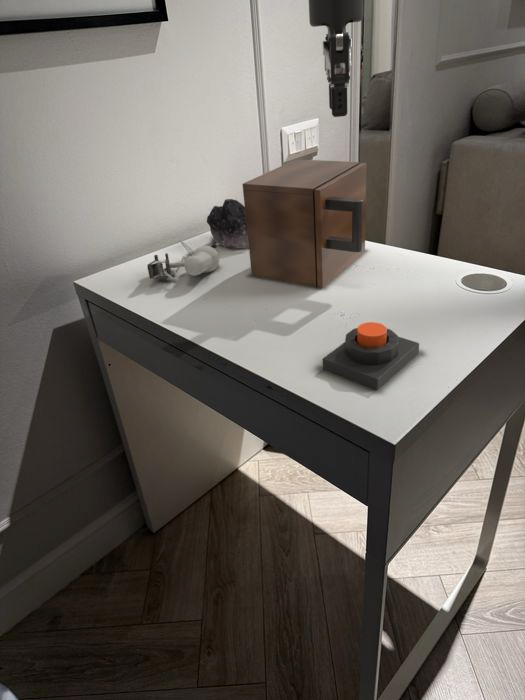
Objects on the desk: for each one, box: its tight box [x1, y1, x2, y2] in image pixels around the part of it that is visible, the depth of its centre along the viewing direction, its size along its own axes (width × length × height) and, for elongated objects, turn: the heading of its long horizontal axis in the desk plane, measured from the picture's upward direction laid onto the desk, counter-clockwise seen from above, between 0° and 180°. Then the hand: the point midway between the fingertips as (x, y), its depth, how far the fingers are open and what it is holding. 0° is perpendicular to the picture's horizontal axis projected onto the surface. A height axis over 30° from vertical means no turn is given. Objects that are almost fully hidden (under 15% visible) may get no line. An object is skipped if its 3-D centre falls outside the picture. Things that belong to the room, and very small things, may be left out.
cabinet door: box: [314, 162, 368, 289], centre depth 87 cm, size 7×18×17 cm, turn 148°
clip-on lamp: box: [146, 238, 221, 282], centre depth 98 cm, size 12×6×18 cm
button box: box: [322, 327, 420, 391], centre depth 66 cm, size 10×8×4 cm
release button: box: [356, 321, 388, 347], centre depth 65 cm, size 4×4×2 cm
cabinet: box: [242, 159, 361, 288], centre depth 92 cm, size 13×18×17 cm
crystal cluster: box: [206, 198, 249, 249], centre depth 110 cm, size 13×14×10 cm
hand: (337, 112), depth 79 cm, fingers open, 8 cm apart
